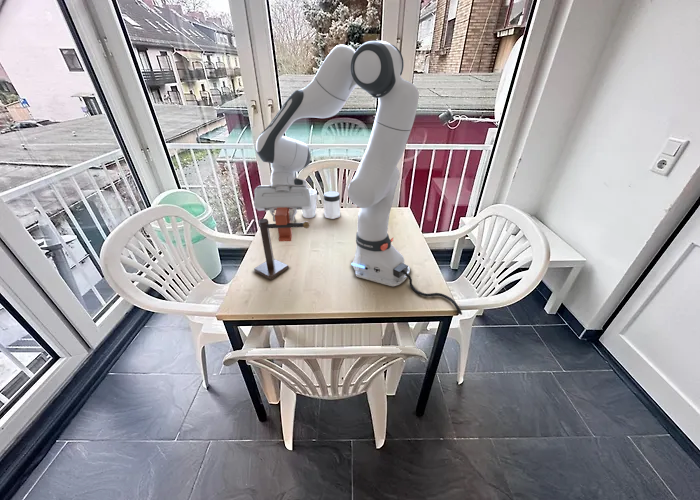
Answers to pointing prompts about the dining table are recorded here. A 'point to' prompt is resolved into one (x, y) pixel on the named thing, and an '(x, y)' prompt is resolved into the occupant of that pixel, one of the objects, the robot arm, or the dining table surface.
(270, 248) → the peg stand
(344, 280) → the dining table surface
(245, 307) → the dining table surface
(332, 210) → the jar
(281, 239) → the hook block
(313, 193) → the foam cup
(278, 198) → the robot arm
